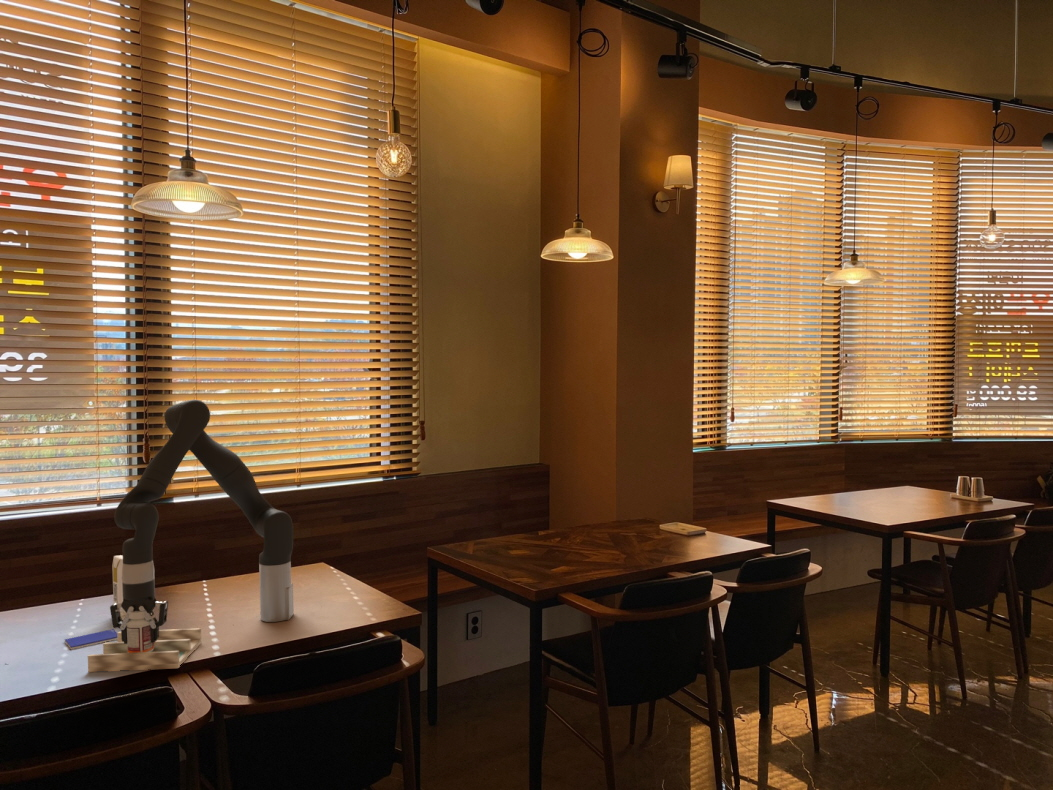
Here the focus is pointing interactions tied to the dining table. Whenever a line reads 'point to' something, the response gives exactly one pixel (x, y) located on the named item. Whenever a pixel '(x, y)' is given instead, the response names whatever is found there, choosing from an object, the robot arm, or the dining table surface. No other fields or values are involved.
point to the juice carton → (118, 582)
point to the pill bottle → (138, 633)
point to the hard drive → (91, 639)
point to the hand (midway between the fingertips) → (140, 642)
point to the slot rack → (165, 654)
